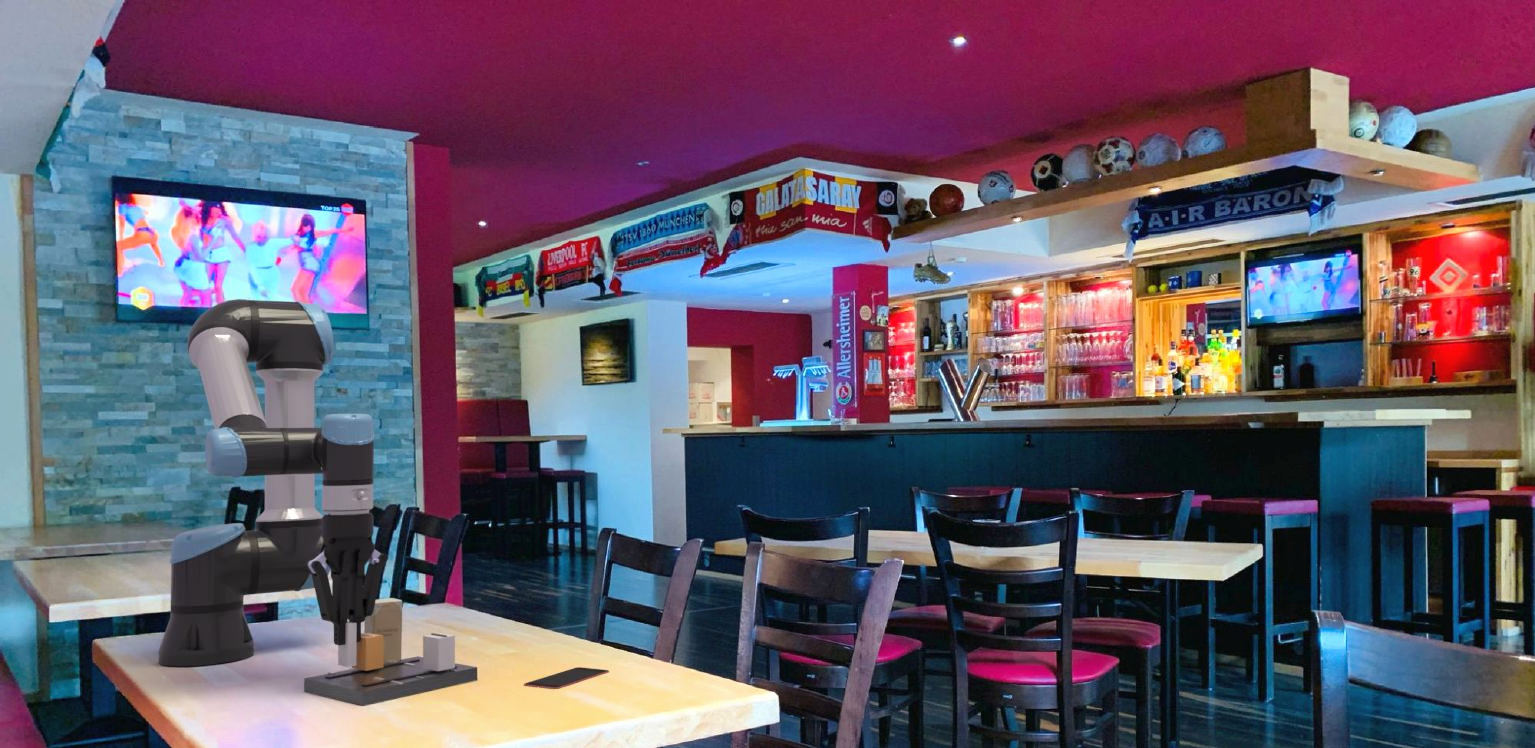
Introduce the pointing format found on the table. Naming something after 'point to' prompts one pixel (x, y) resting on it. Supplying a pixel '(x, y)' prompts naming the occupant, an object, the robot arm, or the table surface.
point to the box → (387, 626)
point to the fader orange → (369, 652)
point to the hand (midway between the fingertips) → (347, 664)
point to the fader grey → (438, 651)
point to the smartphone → (566, 678)
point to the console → (387, 681)
